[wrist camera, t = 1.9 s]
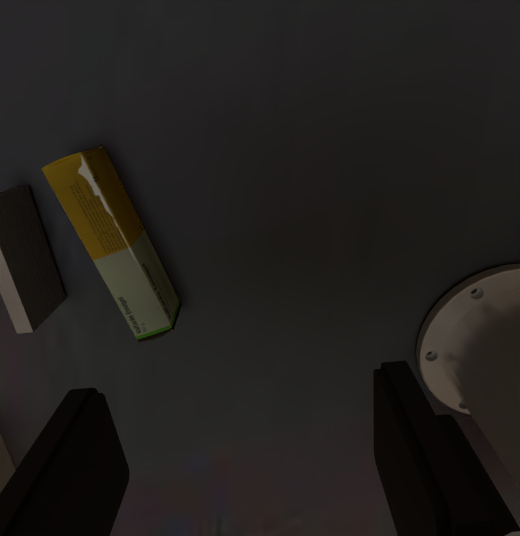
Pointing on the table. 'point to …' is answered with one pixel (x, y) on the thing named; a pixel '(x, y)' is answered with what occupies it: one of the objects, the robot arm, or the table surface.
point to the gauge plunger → (26, 263)
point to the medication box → (115, 241)
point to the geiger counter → (5, 465)
